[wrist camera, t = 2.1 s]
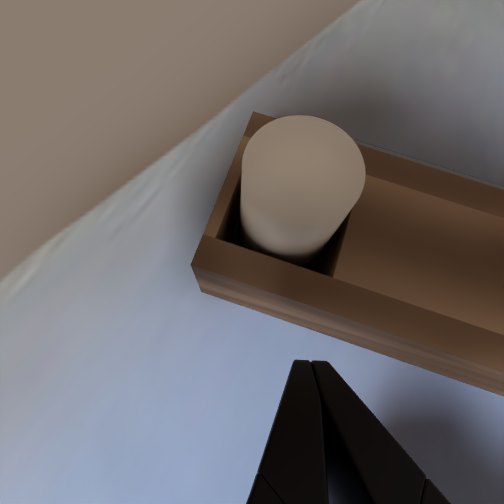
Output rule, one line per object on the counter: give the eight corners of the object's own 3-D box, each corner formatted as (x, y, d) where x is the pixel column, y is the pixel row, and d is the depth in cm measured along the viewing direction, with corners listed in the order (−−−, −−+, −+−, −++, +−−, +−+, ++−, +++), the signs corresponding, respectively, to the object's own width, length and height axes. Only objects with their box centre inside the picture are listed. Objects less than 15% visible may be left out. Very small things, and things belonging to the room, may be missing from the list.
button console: (541, 409, 22) (651, 422, 16) (201, 291, 23) (190, 264, 17) (554, 267, 24) (651, 235, 19) (249, 169, 26) (253, 111, 20)
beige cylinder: (315, 280, 20) (348, 242, 14) (227, 250, 20) (223, 201, 14) (338, 200, 22) (377, 136, 16) (256, 174, 22) (264, 100, 16)
